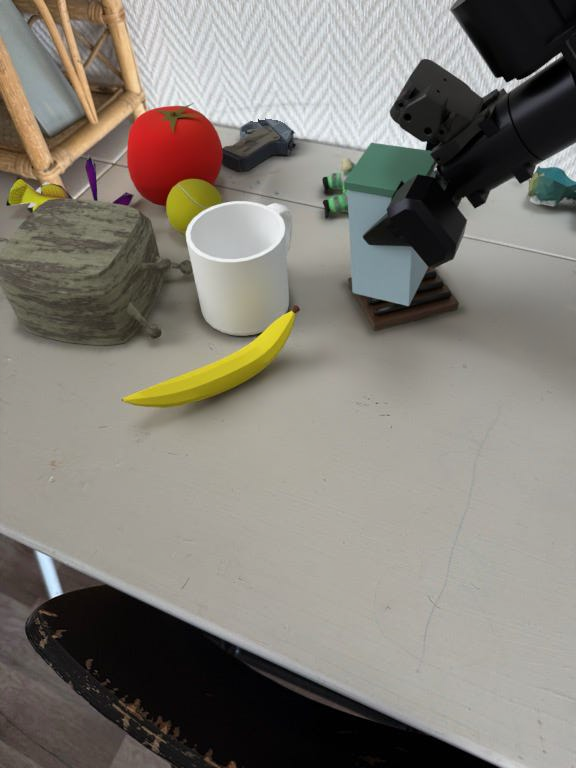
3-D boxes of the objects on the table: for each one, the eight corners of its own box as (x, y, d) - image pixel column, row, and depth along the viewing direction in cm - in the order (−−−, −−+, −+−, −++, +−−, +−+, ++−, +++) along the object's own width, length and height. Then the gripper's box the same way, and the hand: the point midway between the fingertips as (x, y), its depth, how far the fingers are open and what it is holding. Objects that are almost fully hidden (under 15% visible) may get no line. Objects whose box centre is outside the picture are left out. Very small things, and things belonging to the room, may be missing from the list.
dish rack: (426, 265, 71) (428, 253, 69) (457, 309, 66) (460, 297, 64) (347, 284, 69) (348, 272, 68) (373, 331, 64) (375, 319, 63)
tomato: (114, 202, 81) (89, 121, 72) (181, 157, 88) (166, 77, 79) (181, 232, 76) (162, 149, 67) (246, 181, 83) (238, 100, 74)
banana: (129, 420, 58) (111, 379, 53) (292, 340, 64) (290, 296, 59) (140, 441, 56) (123, 400, 51) (307, 357, 62) (306, 313, 57)
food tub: (430, 267, 61) (440, 151, 51) (410, 308, 58) (416, 193, 48) (372, 255, 64) (371, 142, 54) (349, 293, 60) (343, 181, 50)
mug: (245, 351, 63) (234, 276, 55) (183, 309, 67) (165, 234, 59) (321, 289, 68) (322, 213, 60) (259, 254, 73) (252, 179, 65)
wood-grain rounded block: (201, 269, 72) (16, 245, 76) (189, 205, 65) (-14, 182, 69) (158, 356, 63) (-48, 323, 67) (139, 293, 56) (-90, 260, 60)
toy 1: (168, 205, 80) (142, 274, 80) (51, 171, 84) (26, 236, 84) (127, 164, 69) (97, 244, 68) (-5, 127, 73) (-34, 202, 73)
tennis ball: (225, 247, 76) (199, 222, 80) (239, 196, 72) (211, 171, 76) (177, 247, 72) (152, 220, 76) (189, 192, 68) (162, 167, 72)
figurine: (573, 156, 80) (519, 148, 80) (610, 129, 71) (548, 120, 71) (560, 244, 81) (505, 236, 81) (594, 228, 72) (533, 220, 72)
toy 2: (327, 237, 77) (444, 219, 75) (317, 188, 72) (444, 167, 69) (326, 193, 84) (434, 175, 81) (317, 144, 78) (433, 123, 76)
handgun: (196, 135, 93) (265, 114, 96) (230, 177, 85) (305, 153, 87) (193, 119, 91) (264, 99, 94) (228, 161, 83) (304, 137, 86)
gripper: (496, -13, 47) (358, 105, 59) (432, 91, 36) (279, 208, 48) (568, 102, 51) (425, 190, 62) (529, 225, 40) (366, 304, 52)
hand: (378, 218), depth 56 cm, fingers closed on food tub, 7 cm apart
